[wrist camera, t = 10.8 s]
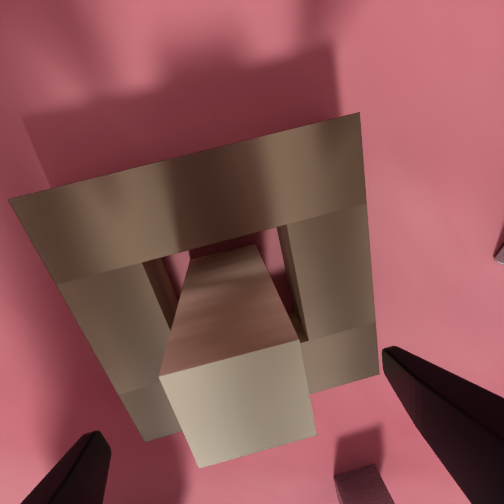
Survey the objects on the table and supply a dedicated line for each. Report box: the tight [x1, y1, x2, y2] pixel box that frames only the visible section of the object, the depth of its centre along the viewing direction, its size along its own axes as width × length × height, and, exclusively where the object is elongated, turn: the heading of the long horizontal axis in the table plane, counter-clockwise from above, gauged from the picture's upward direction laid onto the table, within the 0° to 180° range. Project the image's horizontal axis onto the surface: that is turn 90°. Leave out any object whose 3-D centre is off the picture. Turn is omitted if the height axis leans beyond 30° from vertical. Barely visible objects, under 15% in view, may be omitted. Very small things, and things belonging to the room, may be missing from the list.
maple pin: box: [159, 244, 317, 468], centre depth 12 cm, size 4×4×9 cm
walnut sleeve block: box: [8, 112, 380, 442], centre depth 15 cm, size 15×15×3 cm
